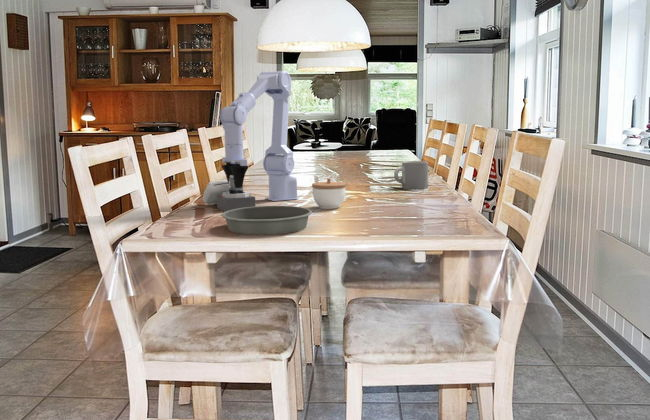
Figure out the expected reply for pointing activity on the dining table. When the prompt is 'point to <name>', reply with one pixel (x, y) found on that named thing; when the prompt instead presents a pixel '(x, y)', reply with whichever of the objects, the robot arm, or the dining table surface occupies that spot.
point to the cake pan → (267, 219)
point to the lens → (232, 187)
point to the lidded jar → (329, 194)
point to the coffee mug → (413, 174)
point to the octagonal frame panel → (235, 201)
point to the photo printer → (215, 191)
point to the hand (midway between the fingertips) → (235, 186)
